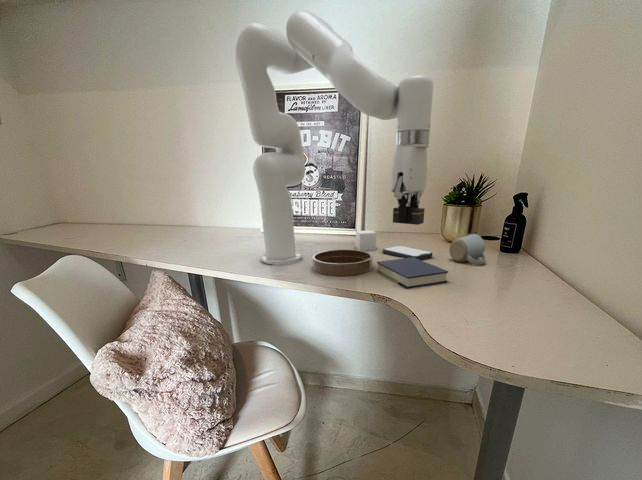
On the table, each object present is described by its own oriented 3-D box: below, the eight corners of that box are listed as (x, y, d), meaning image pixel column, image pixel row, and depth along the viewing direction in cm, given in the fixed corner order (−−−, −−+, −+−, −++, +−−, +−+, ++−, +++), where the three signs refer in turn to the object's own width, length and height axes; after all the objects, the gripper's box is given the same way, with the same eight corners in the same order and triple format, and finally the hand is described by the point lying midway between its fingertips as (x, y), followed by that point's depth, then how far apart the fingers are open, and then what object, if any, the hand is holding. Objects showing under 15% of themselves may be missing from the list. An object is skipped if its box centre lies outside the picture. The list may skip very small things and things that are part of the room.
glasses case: (392, 222, 86) (393, 208, 84) (398, 221, 88) (399, 206, 87) (418, 224, 82) (419, 209, 80) (423, 223, 84) (424, 208, 82)
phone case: (380, 253, 116) (415, 261, 104) (380, 248, 115) (415, 256, 103) (399, 249, 120) (434, 257, 108) (399, 245, 120) (434, 252, 107)
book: (376, 271, 95) (376, 261, 94) (412, 266, 99) (413, 257, 98) (406, 288, 81) (407, 277, 80) (447, 282, 85) (448, 271, 84)
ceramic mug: (446, 259, 105) (449, 235, 102) (463, 255, 109) (467, 232, 106) (473, 267, 97) (477, 241, 94) (491, 263, 101) (496, 238, 98)
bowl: (306, 265, 102) (305, 252, 100) (357, 259, 108) (357, 247, 106) (324, 281, 87) (323, 267, 86) (382, 273, 93) (383, 259, 91)
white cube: (359, 250, 119) (359, 233, 116) (355, 247, 124) (355, 230, 122) (376, 249, 120) (376, 232, 117) (371, 246, 125) (371, 230, 123)
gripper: (414, 143, 85) (409, 217, 93) (379, 140, 74) (378, 225, 81) (442, 141, 81) (435, 219, 88) (410, 138, 69) (405, 227, 77)
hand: (407, 221), depth 85 cm, fingers closed on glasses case, 3 cm apart
